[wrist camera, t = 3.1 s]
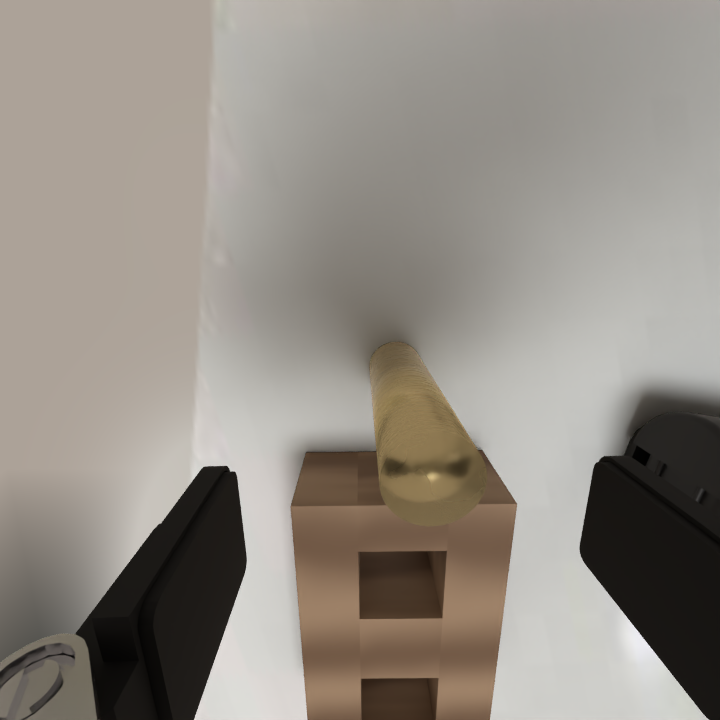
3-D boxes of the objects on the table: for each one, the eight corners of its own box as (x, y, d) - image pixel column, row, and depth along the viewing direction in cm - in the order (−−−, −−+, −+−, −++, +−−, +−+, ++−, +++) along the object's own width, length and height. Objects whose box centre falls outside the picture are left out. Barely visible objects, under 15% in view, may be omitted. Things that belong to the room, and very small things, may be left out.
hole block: (305, 452, 22) (290, 506, 17) (482, 450, 22) (516, 504, 17) (319, 671, 27) (310, 760, 22) (462, 670, 27) (484, 759, 22)
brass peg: (369, 342, 20) (379, 432, 9) (421, 341, 20) (492, 432, 9) (369, 391, 21) (378, 526, 10) (420, 390, 21) (482, 525, 10)
